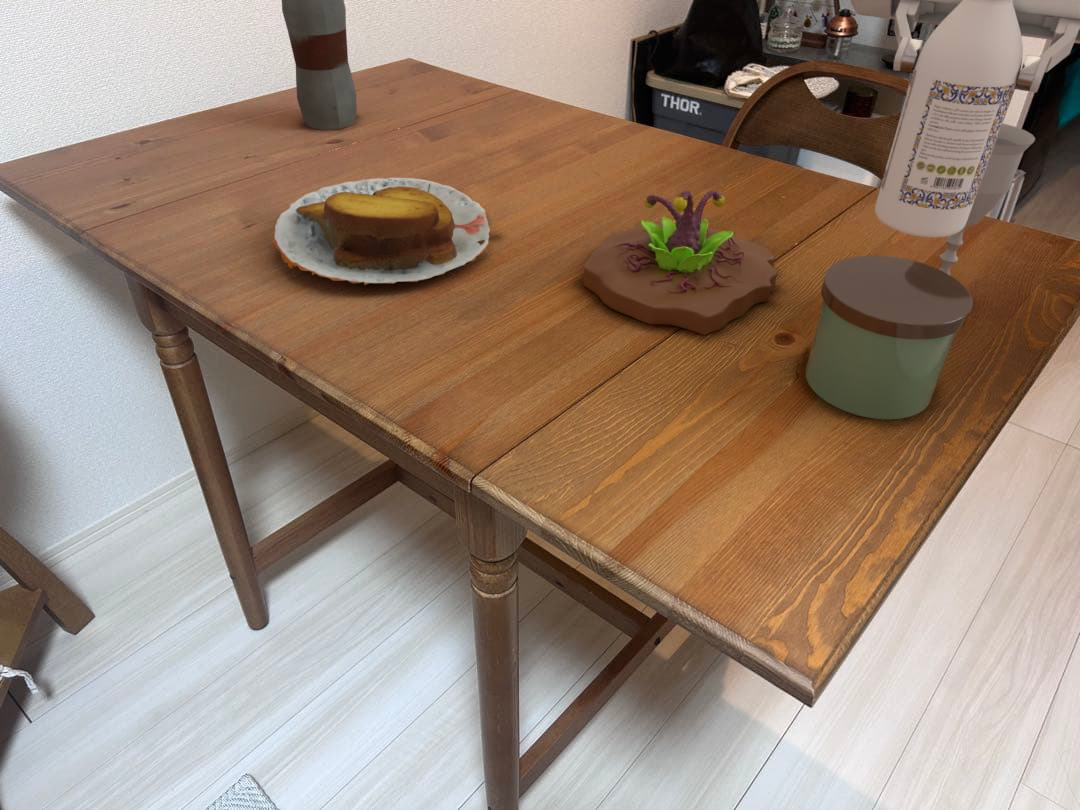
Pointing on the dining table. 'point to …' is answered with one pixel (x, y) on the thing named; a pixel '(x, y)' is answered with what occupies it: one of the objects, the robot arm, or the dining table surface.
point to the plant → (680, 269)
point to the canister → (884, 335)
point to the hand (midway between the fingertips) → (964, 77)
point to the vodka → (321, 62)
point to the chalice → (992, 183)
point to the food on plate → (382, 230)
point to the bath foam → (951, 119)
